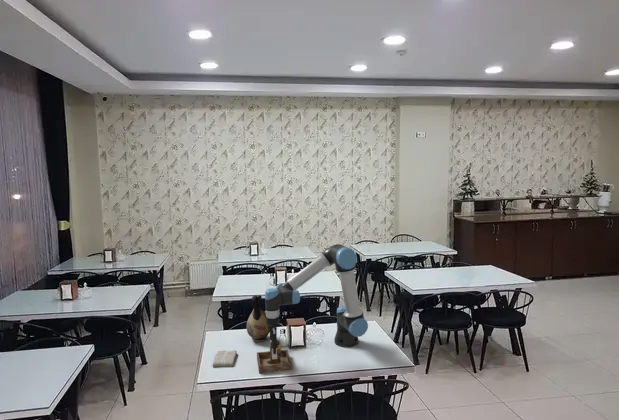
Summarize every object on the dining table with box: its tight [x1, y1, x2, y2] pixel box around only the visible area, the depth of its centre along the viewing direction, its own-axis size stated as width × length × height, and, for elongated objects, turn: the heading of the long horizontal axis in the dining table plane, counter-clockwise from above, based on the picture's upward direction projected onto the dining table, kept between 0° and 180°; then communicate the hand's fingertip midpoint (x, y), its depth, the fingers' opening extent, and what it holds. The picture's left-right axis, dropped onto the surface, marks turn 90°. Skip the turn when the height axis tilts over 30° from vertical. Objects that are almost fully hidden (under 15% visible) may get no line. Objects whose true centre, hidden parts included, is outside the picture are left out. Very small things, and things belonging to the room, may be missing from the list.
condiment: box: [265, 340, 283, 365], centre depth 247 cm, size 7×8×12 cm
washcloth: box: [212, 349, 238, 368], centre depth 255 cm, size 12×18×3 cm, turn 3°
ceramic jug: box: [246, 294, 270, 343], centre depth 282 cm, size 17×15×30 cm
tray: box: [256, 349, 293, 374], centre depth 248 cm, size 18×18×4 cm
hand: (273, 355), depth 247 cm, fingers open, 9 cm apart
